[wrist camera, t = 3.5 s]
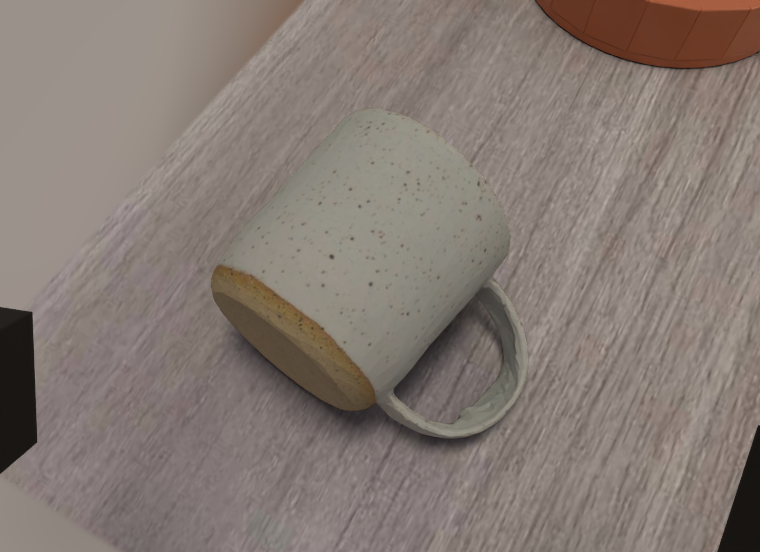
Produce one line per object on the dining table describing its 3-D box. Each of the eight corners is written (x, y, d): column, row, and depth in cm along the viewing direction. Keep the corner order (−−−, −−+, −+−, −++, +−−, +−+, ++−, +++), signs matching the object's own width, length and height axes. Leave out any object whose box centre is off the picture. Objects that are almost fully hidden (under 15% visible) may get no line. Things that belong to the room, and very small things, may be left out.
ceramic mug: (217, 336, 26) (163, 233, 19) (346, 196, 29) (341, 64, 22) (444, 507, 23) (478, 458, 16) (560, 331, 26) (629, 228, 19)
